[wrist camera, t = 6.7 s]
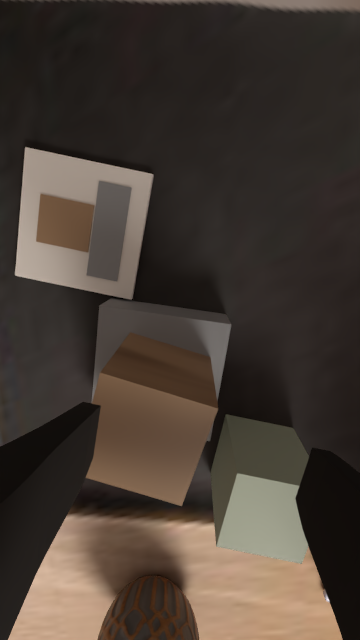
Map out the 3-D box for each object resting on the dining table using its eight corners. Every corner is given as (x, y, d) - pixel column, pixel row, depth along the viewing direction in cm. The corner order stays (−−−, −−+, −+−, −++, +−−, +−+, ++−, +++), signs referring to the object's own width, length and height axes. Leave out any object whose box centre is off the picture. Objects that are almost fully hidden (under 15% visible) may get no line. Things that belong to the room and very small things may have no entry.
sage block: (274, 484, 21) (301, 563, 16) (210, 471, 21) (216, 546, 16) (292, 427, 20) (328, 492, 15) (225, 413, 20) (237, 473, 15)
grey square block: (207, 414, 21) (210, 441, 18) (104, 398, 21) (90, 423, 18) (225, 312, 19) (231, 324, 16) (113, 296, 19) (99, 305, 16)
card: (132, 298, 19) (131, 300, 18) (18, 274, 19) (14, 275, 18) (153, 175, 17) (152, 173, 17) (29, 149, 17) (24, 146, 17)
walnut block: (185, 428, 18) (181, 506, 12) (109, 405, 18) (72, 473, 12) (210, 357, 17) (218, 408, 11) (130, 332, 17) (100, 372, 11)
